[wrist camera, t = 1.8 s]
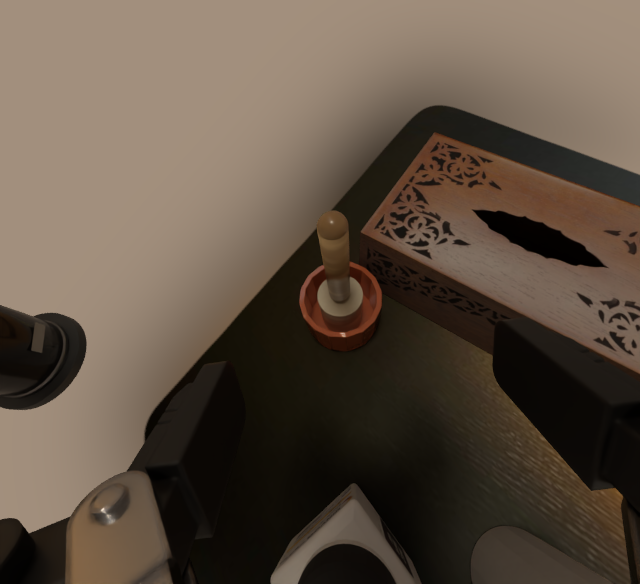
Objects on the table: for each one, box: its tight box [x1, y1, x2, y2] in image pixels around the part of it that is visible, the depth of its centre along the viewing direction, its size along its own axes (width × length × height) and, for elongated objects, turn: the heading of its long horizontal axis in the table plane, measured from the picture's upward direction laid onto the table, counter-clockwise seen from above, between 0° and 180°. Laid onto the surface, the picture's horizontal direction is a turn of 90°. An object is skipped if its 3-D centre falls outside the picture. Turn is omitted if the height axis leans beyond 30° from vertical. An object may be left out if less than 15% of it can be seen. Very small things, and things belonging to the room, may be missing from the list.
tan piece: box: [317, 211, 363, 332], centre depth 27 cm, size 4×4×18 cm
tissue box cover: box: [359, 132, 640, 382], centre depth 31 cm, size 26×14×10 cm, turn 55°
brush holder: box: [299, 262, 382, 351], centre depth 33 cm, size 8×8×6 cm
